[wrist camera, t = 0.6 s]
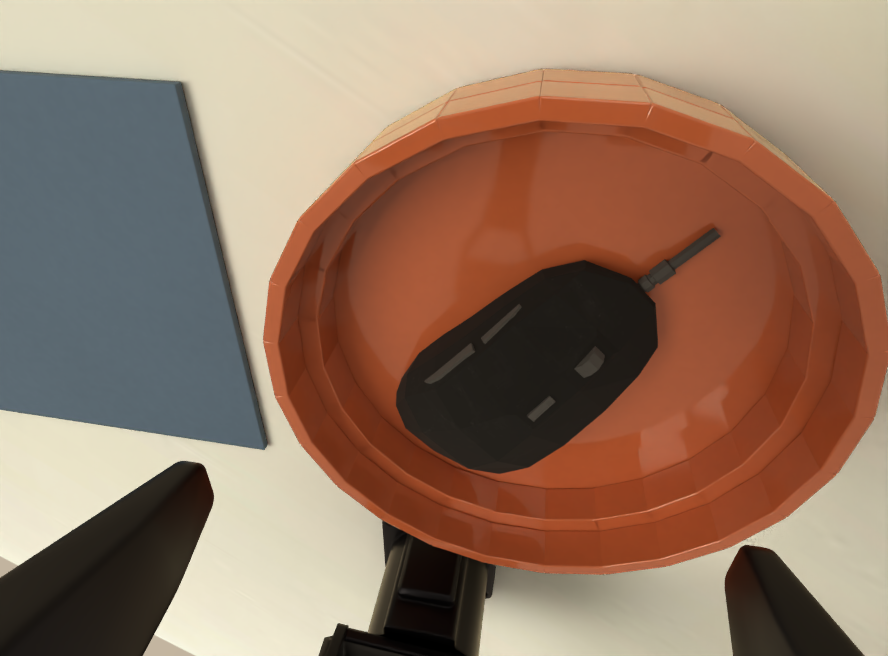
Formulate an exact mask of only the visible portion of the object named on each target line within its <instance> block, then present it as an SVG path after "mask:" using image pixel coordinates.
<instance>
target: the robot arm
mask: <svg viewBox="0 0 888 656" xmlns="http://www.w3.org/2000/svg"><path fill="white" fill-rule="evenodd" d="M213 501H214V493H213V490H212V487H211V484H210V481H209V478H208V475H207V472H206V469H205V467H204V466H203V465H202V464H200V463H195V462H188V461H180V462H177V463H175V464H173V465H172V466H170V467H169V468H167V469H166V470H164V471H163V472H161V473H160V474H158V475H156V476H155V477H153V478H152V479H150V480H149V481H147V482H146V483H144V484H143V485H141V486H140V487H138V488H137V489H135V490H134V491H132V492H131V493H129V494H127V495H126V496H124V497H123V498H121V499H120V500H118V501H117V502H115V503H114V504H112V505H111V506H109V507H108V508H106V509H105V510H103V511H101V512H100V513H98V514H97V515H95V516H94V517H92V518H91V519H89V520H88V521H86V522H85V523H83V524H82V525H80V526H79V527H77V528H75V529H74V530H72V531H71V532H69V533H68V534H66V535H65V536H63V537H62V538H60V539H59V540H57V541H56V542H54V543H53V544H51V545H50V546H48V547H46V548H45V549H43V550H42V551H40V552H39V553H37V554H36V555H34V556H33V557H31V558H30V559H28V560H27V561H25V562H24V563H22V564H20V565H19V566H17V567H16V568H15V569H13V570H11V571H10V572H8V573H7V574H5V575H4V576H2V577H1V578H0V656H143V654H144V652H145V650H146V648H147V647H148V645H149V643H150V641H151V639H152V637H153V635H154V633H155V632H156V630H157V628H158V626H159V624H160V622H161V620H162V618H163V617H164V615H165V613H166V611H167V609H168V607H169V605H170V603H171V602H172V600H173V598H174V596H175V594H176V592H177V590H178V587H179V585H180V583H181V581H182V578H183V576H184V574H185V571H186V569H187V567H188V564H189V562H190V559H191V557H192V554H193V552H194V550H195V547H196V545H197V542H198V540H199V538H200V535H201V533H202V530H203V528H204V525H205V523H206V521H207V518H208V516H209V513H210V511H211V508H212V506H213ZM382 523H383V537H384V551H385V565H386V569H385V572H384V576H383V579H382V583H381V587H380V590H379V594H378V597H377V601H376V605H375V608H374V612H373V615H372V619H371V622H370V626H369V630H368V632H364V631H360V630H356V629H351V628H349V626H348V625H344V624H340V623H338V624H337V627H336V629H335V632H334V634H333V636H330V637H326V638H324V641H323V644H322V647H321V650H320V653H319V656H479V647H480V638H481V629H482V620H483V612H484V603H485V598H490V597H491V596H492V591H493V584H494V576H495V569H496V565H493V564H487V563H483V562H480V561H477V560H474V559H471V558H468V557H465V556H462V555H459V554H456V553H453V552H450V551H447V550H444V549H441V548H438V547H435V546H432V545H429V544H427V543H426V542H424V541H422V540H420V539H418V538H416V537H414V536H412V535H410V534H408V533H406V532H404V531H402V530H400V529H398V528H396V527H394V526H393V525H391V524H389V523H387V522H385V521H382ZM725 595H726V603H727V611H728V619H729V627H730V635H731V643H732V650H733V656H864V655H863V653H862V652H861V651H860V650H859V649H858V648H857V646H856V645H855V644H854V643H853V642H852V641H851V640H850V638H849V637H848V636H847V635H846V634H845V633H844V631H843V630H842V629H841V628H840V627H839V626H838V624H837V623H836V622H835V621H834V620H833V619H832V618H831V616H830V615H829V614H828V613H827V612H826V611H825V609H824V608H823V607H822V606H821V605H820V604H819V602H818V601H817V600H816V599H815V598H814V597H813V596H812V594H811V593H810V592H809V591H808V590H807V589H806V587H805V586H804V585H803V584H802V583H801V582H800V580H799V579H798V578H797V577H796V576H795V575H794V574H793V572H792V571H791V570H790V569H789V568H788V567H787V565H786V564H785V563H784V562H783V561H782V560H781V558H780V557H779V556H778V555H777V554H776V553H775V552H774V551H772V550H770V549H768V548H763V547H756V546H750V545H744V546H742V547H741V548H740V549H739V551H738V553H737V555H736V557H735V558H734V560H733V562H732V564H731V566H730V568H729V570H728V572H727V574H726V577H725Z"/></svg>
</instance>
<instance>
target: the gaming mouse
mask: <svg viewBox="0 0 888 656" xmlns="http://www.w3.org/2000/svg"><path fill="white" fill-rule="evenodd" d="M719 237H721V236H720V235H719V234H718V232H717V231H716V230H715V229H714V228H712V229H711V230H709V231H708V232H707V233H705V234H704V235H703V236H701V237H700V238H699V239H697V240H696V241H694V242H693V243H692V244H690V245H689V246H688V247H686V248H685V249H684V250H682V251H681V252H680V253H678V254H677V255H675V256H674V257H673V258H671V259H670V260H669V261H667V260H665V259H664V260H663V261H661V262H660V263H659V264H657V265H656V266H655V267H653V268H652V269H651V270H649V272H650V274H648V275H644V276H643V277H641V278H640V279H638V283H636V282H635V281H634V280H633V279H632V278H630V277H628V276H625V275H623V274H620V273H617V272H615V271H612V270H609V269H607V268H604V267H602V266H599V265H596V264H594V263H591V262H588V261H586V260H582V261H578V262H573V263H568V264H564V265H559V266H555V267H550V268H546V269H542V270H540V271H538V272H537V273H535V274H534V275H532V276H530V277H529V278H527V279H526V280H524V281H523V282H521V283H519V284H518V285H516V286H515V287H513V288H511V289H510V290H508V291H507V292H505V293H504V294H502V295H501V296H499V297H498V298H496V299H495V300H494V301H492V302H491V303H489V304H488V305H487V306H485V307H484V308H482V309H481V310H480V311H478V312H477V313H475V314H474V315H473V316H471V317H470V318H468V319H467V320H465V321H464V322H462V323H461V324H459V325H457V326H456V327H454V328H453V329H451V330H450V331H448V332H447V333H445V334H444V335H442V336H441V337H439V338H438V339H437V340H435V341H434V342H433V343H431V344H430V345H429V346H427V347H426V348H425V349H424V350H422V351H421V352H420V353H419V354H418V355H417V357H416V358H415V359H414V361H413V362H412V364H411V365H410V367H409V368H408V369H407V371H406V372H405V374H404V375H403V377H402V378H401V381H400V384H399V387H398V390H397V392H396V407H397V410H398V412H399V414H400V417H401V419H402V421H403V424H404V426H405V428H406V429H407V430H408V431H409V432H411V433H412V434H413V435H414V436H416V437H417V438H418V439H420V440H421V441H422V442H423V443H425V444H426V445H427V446H428V447H430V448H431V449H432V450H433V451H435V452H437V453H439V454H441V455H443V456H445V457H447V458H449V459H451V460H453V461H454V462H456V463H458V464H460V465H462V466H464V467H466V468H468V469H472V470H478V471H484V472H490V473H496V474H502V473H507V472H511V471H516V470H520V469H524V468H529V467H531V466H532V465H534V464H535V463H537V462H539V461H540V460H542V459H543V458H545V457H547V456H548V455H550V454H551V453H553V452H555V451H556V450H558V449H559V448H561V447H563V446H564V445H565V444H566V443H568V442H569V441H570V440H571V439H572V438H574V437H575V436H576V435H577V434H578V433H579V432H581V431H582V430H583V429H584V428H585V427H587V426H588V425H589V424H590V423H591V422H593V421H594V420H595V419H596V418H597V417H598V416H600V415H601V414H602V413H603V412H604V411H605V410H606V409H607V408H608V407H609V406H610V405H611V404H612V403H613V402H614V401H615V400H616V399H617V398H618V397H619V396H620V395H621V394H622V393H623V392H624V391H625V390H626V389H627V387H628V386H629V385H630V384H631V383H632V382H633V381H634V380H635V379H636V378H637V377H638V376H639V375H640V373H641V372H642V370H643V369H644V367H645V366H646V364H647V363H648V361H649V360H650V358H651V357H652V355H653V354H654V352H655V351H656V349H657V348H658V333H657V317H656V303H655V302H654V301H653V300H652V299H651V298H650V297H649V296H648V295H647V294H646V293H645V292H647V293H648V292H650V291H651V290H652V289H654V288H655V285H656V284H657V283H659V284H660V285H661V284H662V283H663V282H665V281H666V280H668V279H669V278H670V277H672V276H673V275H675V274H676V271H675V269H677V268H678V267H679V266H681V265H682V264H684V263H685V262H686V261H688V260H689V259H690V258H692V257H693V256H695V255H696V254H697V253H699V252H700V251H701V250H703V249H704V248H706V247H707V246H708V245H710V244H711V243H712V242H714V241H715V240H717V239H718V238H719Z"/></svg>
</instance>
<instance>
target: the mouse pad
mask: <svg viewBox="0 0 888 656" xmlns="http://www.w3.org/2000/svg"><path fill="white" fill-rule="evenodd" d="M0 410H6V411H13V412H19V413H26V414H32V415H39V416H45V417H52V418H59V419H65V420H72V421H78V422H85V423H91V424H98V425H104V426H111V427H118V428H124V429H131V430H137V431H144V432H150V433H157V434H163V435H170V436H177V437H183V438H190V439H196V440H203V441H209V442H216V443H222V444H229V445H236V446H242V447H249V448H255V449H262V450H265V448H266V447H267V440H266V436H265V432H264V428H263V423H262V419H261V415H260V411H259V407H258V402H257V398H256V394H255V390H254V386H253V382H252V377H251V373H250V369H249V365H248V361H247V356H246V352H245V348H244V344H243V340H242V336H241V331H240V327H239V323H238V319H237V315H236V310H235V306H234V302H233V298H232V294H231V289H230V285H229V281H228V277H227V273H226V269H225V264H224V260H223V256H222V252H221V248H220V243H219V239H218V235H217V231H216V227H215V223H214V218H213V214H212V210H211V206H210V202H209V197H208V193H207V189H206V185H205V181H204V177H203V172H202V168H201V164H200V160H199V156H198V151H197V147H196V143H195V139H194V135H193V130H192V126H191V122H190V118H189V114H188V110H187V105H186V101H185V97H184V93H183V89H182V84H181V82H175V81H159V80H143V79H128V78H112V77H96V76H80V75H65V74H49V73H33V72H18V71H2V70H0Z"/></svg>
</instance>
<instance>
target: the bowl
mask: <svg viewBox="0 0 888 656" xmlns="http://www.w3.org/2000/svg"><path fill="white" fill-rule="evenodd" d="M712 228H714V229H715V230H716V231H717V232H718V234H719V235H720V236H721V237H719V238H718V239H717V240H715V241H714V242H712V243H711V244H710V245H708V246H707V247H706V248H704V249H703V250H701V251H700V252H699V253H697V254H696V255H695V256H693V257H692V258H690V259H689V260H688V261H686V262H685V263H684V264H682V265H681V266H679V267H678V268H677V269H675V271H676V274H675V275H673V276H672V277H670V278H669V279H668V280H666V281H665V282H663V283H662V284H661V285H660V284H659V283H657V284H656V285H655V288H654V289H652V290H651V291H650V292H648V293H647V292H645V293H646V294H647V295H648V296H649V297H650V298H651V299H652V300H653V301H654V302H655V303H656V317H657V333H658V348H657V349H656V351H655V352H654V354H653V355H652V357H651V358H650V360H649V361H648V363H647V364H646V366H645V367H644V369H643V370H642V372H641V373H640V375H639V376H638V377H637V378H636V379H635V380H634V381H633V382H632V383H631V384H630V385H629V386H628V387H627V389H626V390H625V391H624V392H623V393H622V394H621V395H620V396H619V397H618V398H617V399H616V400H615V401H614V402H613V403H612V404H611V405H610V406H609V407H608V408H607V409H606V410H605V411H604V412H603V413H602V414H601V415H600V416H598V417H597V418H596V419H595V420H594V421H593V422H591V423H590V424H589V425H588V426H587V427H585V428H584V429H583V430H582V431H581V432H579V433H578V434H577V435H576V436H575V437H574V438H572V439H571V440H570V441H569V442H568V443H566V444H565V445H564V446H563V447H561V448H559V449H558V450H556V451H555V452H553V453H551V454H550V455H548V456H547V457H545V458H543V459H542V460H540V461H539V462H537V463H535V464H534V465H532V466H531V467H529V468H524V469H520V470H516V471H511V472H507V473H502V474H496V473H490V472H484V471H478V470H472V469H468V468H466V467H464V466H462V465H460V464H458V463H456V462H454V461H453V460H451V459H449V458H447V457H445V456H443V455H441V454H439V453H437V452H435V451H433V450H432V449H431V448H430V447H428V446H427V445H426V444H425V443H423V442H422V441H421V440H420V439H418V438H417V437H416V436H414V435H413V434H412V433H411V432H409V431H408V430H407V429H406V428H405V426H404V424H403V421H402V419H401V417H400V414H399V412H398V410H397V407H396V392H397V390H398V387H399V384H400V381H401V378H402V377H403V375H404V374H405V372H406V371H407V369H408V368H409V367H410V365H411V364H412V362H413V361H414V359H415V358H416V357H417V355H418V354H419V353H420V352H421V351H422V350H424V349H425V348H426V347H427V346H429V345H430V344H431V343H433V342H434V341H435V340H437V339H438V338H439V337H441V336H442V335H444V334H445V333H447V332H448V331H450V330H451V329H453V328H454V327H456V326H457V325H459V324H461V323H462V322H464V321H465V320H467V319H468V318H470V317H471V316H473V315H474V314H475V313H477V312H478V311H480V310H481V309H482V308H484V307H485V306H487V305H488V304H489V303H491V302H492V301H494V300H495V299H496V298H498V297H499V296H501V295H502V294H504V293H505V292H507V291H508V290H510V289H511V288H513V287H515V286H516V285H518V284H519V283H521V282H523V281H524V280H526V279H527V278H529V277H530V276H532V275H534V274H535V273H537V272H538V271H540V270H542V269H546V268H550V267H555V266H559V265H564V264H568V263H573V262H578V261H582V260H586V261H588V262H591V263H594V264H596V265H599V266H602V267H604V268H607V269H609V270H612V271H615V272H617V273H620V274H623V275H625V276H628V277H630V278H632V279H633V280H634V281H635V282H636V283H638V279H640V278H641V277H643V276H644V275H648V274H650V272H649V270H651V269H652V268H653V267H655V266H656V265H657V264H659V263H660V262H661V261H663V260H664V259H665V260H667V261H669V260H670V259H671V258H673V257H674V256H675V255H677V254H678V253H680V252H681V251H682V250H684V249H685V248H686V247H688V246H689V245H690V244H692V243H693V242H694V241H696V240H697V239H699V238H700V237H701V236H703V235H704V234H705V233H707V232H708V231H709V230H711V229H712ZM263 340H264V341H263V343H264V348H265V353H266V357H267V362H268V367H269V371H270V376H271V381H272V386H273V390H274V395H275V398H276V400H277V401H278V403H279V405H280V407H281V409H282V411H283V413H284V415H285V417H286V419H287V420H288V422H289V424H290V426H291V428H292V430H293V432H294V434H295V436H296V437H297V439H298V441H299V443H300V444H301V446H302V447H303V448H304V449H305V450H306V452H307V453H308V454H309V455H310V456H311V457H312V458H313V460H314V461H315V462H316V463H317V464H318V465H319V466H320V468H321V469H322V470H323V471H324V472H325V473H326V474H327V476H328V477H329V478H330V479H331V480H332V481H333V482H334V483H335V485H337V486H338V487H339V488H340V489H341V490H343V491H344V492H345V493H347V494H348V495H349V496H351V497H352V498H353V499H355V500H356V501H357V502H359V503H360V504H361V505H362V506H364V507H365V508H366V509H368V510H369V511H370V512H372V513H373V514H374V515H376V516H377V517H378V518H380V519H381V520H383V521H385V522H387V523H389V524H391V525H393V526H394V527H396V528H398V529H400V530H402V531H404V532H406V533H408V534H410V535H412V536H414V537H416V538H418V539H420V540H422V541H424V542H426V543H427V544H429V545H432V546H435V547H438V548H441V549H444V550H447V551H450V552H453V553H456V554H459V555H462V556H465V557H468V558H471V559H474V560H477V561H480V562H483V563H487V564H493V565H499V566H505V567H510V568H516V569H522V570H528V571H534V572H540V573H555V574H599V575H604V574H614V573H622V572H629V571H637V570H645V569H652V568H660V567H666V566H671V565H674V564H677V563H681V562H684V561H687V560H691V559H694V558H697V557H701V556H704V555H707V554H710V553H714V552H717V551H720V550H724V549H727V548H728V547H732V546H734V545H736V544H737V543H739V542H741V541H743V540H745V539H747V538H749V537H751V536H753V535H755V534H757V533H758V532H760V531H762V530H764V529H766V528H768V527H770V526H772V525H774V524H776V523H778V522H780V521H781V520H783V519H785V518H786V517H788V516H789V515H790V514H792V513H793V512H794V511H795V510H796V509H797V508H799V507H800V506H801V505H802V504H803V503H804V502H806V501H807V500H808V499H809V498H810V497H811V496H813V495H814V494H815V493H816V492H817V491H819V490H820V489H821V488H822V487H823V486H824V485H826V484H827V483H828V482H829V481H830V480H831V479H833V478H834V477H835V476H836V474H837V473H839V471H840V470H841V468H842V467H843V465H844V464H845V462H846V461H847V459H848V458H849V456H850V455H851V453H852V452H853V450H854V449H855V447H856V446H857V444H858V443H859V441H860V440H861V438H862V437H863V435H864V434H865V432H866V431H867V429H868V428H869V426H870V425H871V423H872V421H873V420H874V417H875V415H876V411H877V407H878V403H879V399H880V395H881V391H882V387H883V383H884V379H885V375H886V371H887V367H888V320H887V314H886V307H885V301H884V294H883V288H882V281H881V276H880V274H879V271H878V270H877V268H876V266H875V265H874V263H873V262H872V260H871V258H870V257H869V255H868V253H867V252H866V250H865V249H864V247H863V245H862V244H861V242H860V240H859V239H858V237H857V236H856V234H855V232H854V231H853V229H852V228H851V226H850V224H849V223H848V221H847V219H846V218H845V216H844V215H843V213H842V211H841V210H840V208H839V207H838V205H837V203H836V202H835V201H834V200H833V199H832V198H831V197H830V196H829V195H828V194H827V193H826V192H825V191H824V190H823V189H822V188H821V187H820V186H819V185H818V184H816V183H815V182H814V181H813V180H812V179H811V178H810V177H809V176H808V175H807V174H806V173H805V172H804V171H803V170H802V169H800V168H799V167H798V166H797V165H796V164H795V163H794V162H793V161H792V160H791V159H790V158H789V157H788V156H787V155H786V154H784V153H783V152H782V151H781V150H779V149H778V148H777V147H775V146H774V145H773V144H771V143H770V142H769V141H768V140H766V139H765V138H764V137H762V136H761V135H760V134H759V133H757V132H756V131H755V130H753V129H752V128H751V127H749V126H748V125H747V124H746V123H744V122H743V121H742V120H740V119H739V118H738V117H737V116H735V115H734V114H733V113H731V112H730V111H729V110H728V109H726V108H725V107H724V106H722V105H719V104H718V103H716V102H713V101H710V100H708V99H705V98H702V97H699V96H696V95H694V94H691V93H688V92H685V91H683V90H680V89H677V88H674V87H671V86H669V85H666V84H663V83H660V82H657V81H655V80H652V79H649V78H646V77H643V76H641V75H634V74H632V73H614V72H596V71H578V70H560V69H545V70H543V69H538V70H534V71H529V72H525V73H520V74H516V75H512V76H507V77H503V78H498V79H494V80H490V81H485V82H481V83H476V84H472V85H468V86H463V87H459V88H458V89H454V90H452V91H450V92H449V93H447V94H445V95H443V96H441V97H440V98H438V99H436V100H434V101H432V102H431V103H429V104H427V105H425V106H423V107H422V108H420V109H418V110H416V111H414V112H412V113H411V114H409V115H407V116H405V117H403V118H402V119H400V120H398V121H396V122H394V123H393V124H391V125H389V126H388V127H387V128H385V129H384V130H383V131H382V132H381V133H380V134H379V135H378V136H377V137H376V138H375V139H374V140H373V141H372V142H371V143H370V145H369V146H368V147H367V148H366V149H365V150H364V151H363V152H362V153H361V154H360V155H359V156H358V157H357V158H356V159H355V160H354V161H353V162H352V163H351V164H350V165H349V166H348V167H347V168H346V169H345V170H344V171H343V172H342V173H341V174H340V175H339V176H338V177H337V179H336V180H335V181H334V182H333V183H332V184H331V185H330V186H329V187H328V188H327V189H326V190H325V191H324V192H323V193H322V194H321V195H320V196H319V198H318V199H317V200H316V201H315V202H314V203H313V204H312V205H311V206H310V207H309V208H308V209H307V210H306V211H305V212H304V213H303V214H302V215H301V217H300V218H299V219H298V221H297V223H296V225H295V227H294V229H293V231H292V234H291V236H290V238H289V240H288V242H287V244H286V246H285V248H284V250H283V252H282V255H281V257H280V259H279V261H278V263H277V265H276V267H275V269H274V271H273V274H272V276H271V278H270V281H269V289H268V298H267V308H266V317H265V326H264V336H263Z"/></svg>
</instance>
